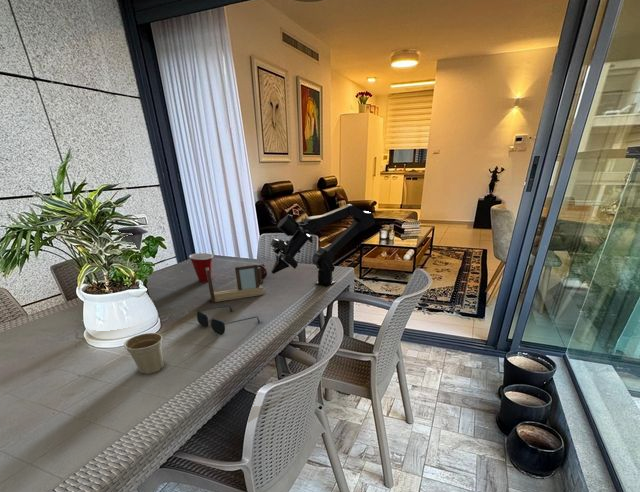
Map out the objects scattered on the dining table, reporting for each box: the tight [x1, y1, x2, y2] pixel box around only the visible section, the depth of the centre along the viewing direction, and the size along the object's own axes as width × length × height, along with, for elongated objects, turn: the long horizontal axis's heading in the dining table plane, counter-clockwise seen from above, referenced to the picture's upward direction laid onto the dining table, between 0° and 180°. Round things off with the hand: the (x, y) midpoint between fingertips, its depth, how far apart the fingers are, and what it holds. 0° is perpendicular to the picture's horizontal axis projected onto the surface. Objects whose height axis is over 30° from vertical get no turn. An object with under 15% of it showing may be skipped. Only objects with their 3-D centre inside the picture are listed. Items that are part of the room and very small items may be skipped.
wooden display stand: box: [205, 267, 265, 303], centre depth 144 cm, size 21×5×13 cm, turn 111°
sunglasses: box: [196, 304, 260, 336], centre depth 122 cm, size 17×15×5 cm
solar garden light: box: [117, 226, 151, 298], centre depth 132 cm, size 12×12×30 cm
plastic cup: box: [188, 252, 214, 283], centre depth 166 cm, size 11×11×12 cm
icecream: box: [257, 263, 268, 280], centre depth 166 cm, size 7×7×15 cm
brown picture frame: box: [234, 264, 263, 291], centre depth 145 cm, size 10×2×11 cm, turn 111°
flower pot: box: [123, 332, 164, 375], centre depth 95 cm, size 9×9×9 cm
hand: (272, 273), depth 148 cm, fingers closed
